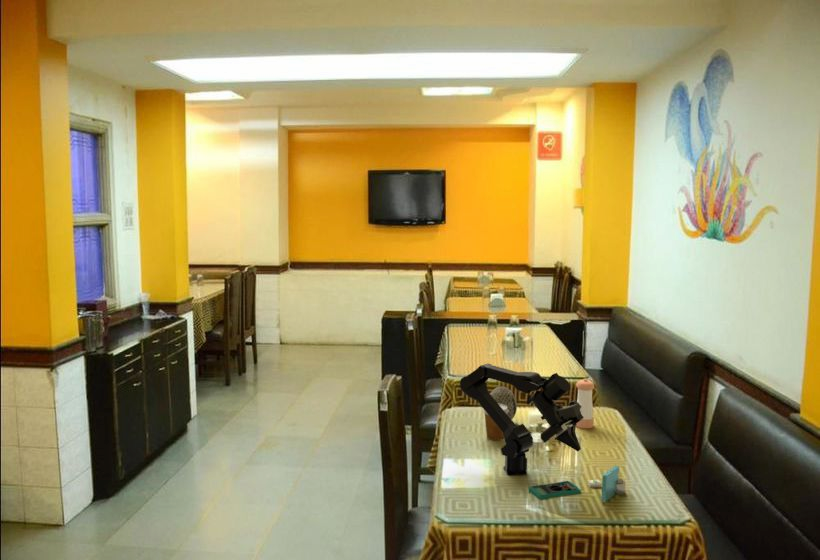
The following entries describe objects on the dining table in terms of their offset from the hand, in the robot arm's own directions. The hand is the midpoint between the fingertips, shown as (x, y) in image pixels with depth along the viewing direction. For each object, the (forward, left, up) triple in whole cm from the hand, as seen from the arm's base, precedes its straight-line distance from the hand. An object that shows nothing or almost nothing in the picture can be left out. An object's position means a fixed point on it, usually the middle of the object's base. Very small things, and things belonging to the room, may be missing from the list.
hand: (579, 450), depth 202 cm
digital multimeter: (-8, -1, -14) cm, 16 cm away
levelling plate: (+9, -3, -14) cm, 17 cm away
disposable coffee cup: (-16, +48, -14) cm, 52 cm away
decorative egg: (-10, +64, -14) cm, 66 cm away
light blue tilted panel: (+9, -6, -12) cm, 16 cm away
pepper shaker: (+22, +58, -14) cm, 64 cm away
